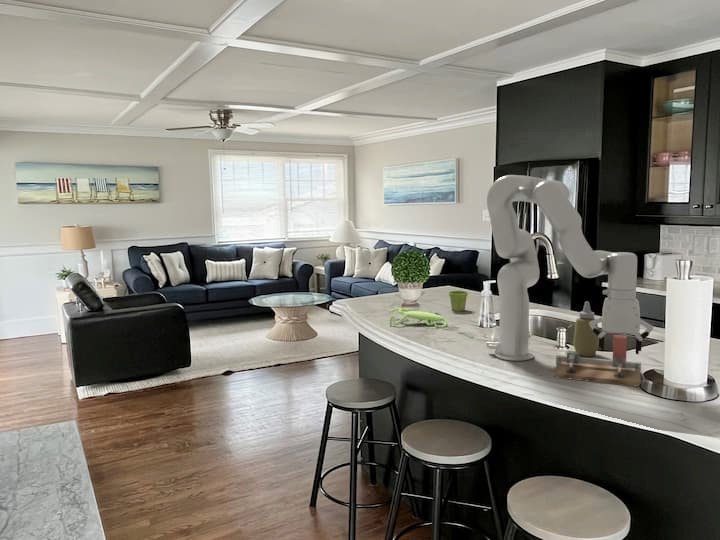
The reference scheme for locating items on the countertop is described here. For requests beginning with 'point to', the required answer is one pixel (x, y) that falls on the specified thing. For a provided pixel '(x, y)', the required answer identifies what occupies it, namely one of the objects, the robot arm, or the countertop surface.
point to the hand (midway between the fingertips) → (619, 351)
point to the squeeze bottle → (585, 333)
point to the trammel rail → (591, 361)
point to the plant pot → (458, 300)
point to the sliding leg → (619, 352)
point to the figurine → (418, 317)
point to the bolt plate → (598, 373)
